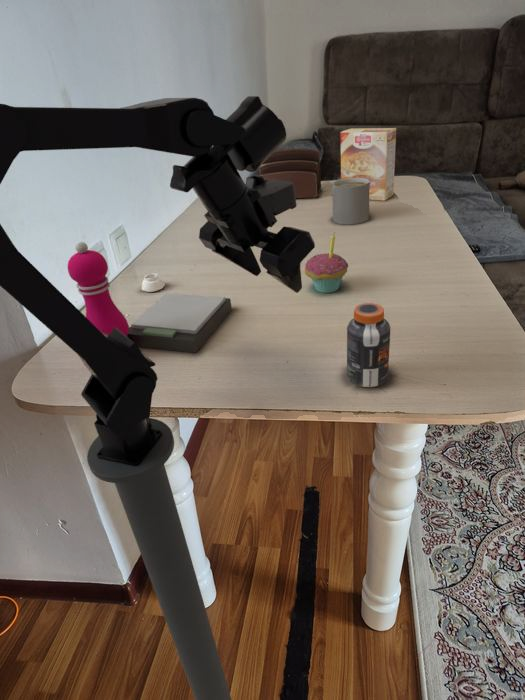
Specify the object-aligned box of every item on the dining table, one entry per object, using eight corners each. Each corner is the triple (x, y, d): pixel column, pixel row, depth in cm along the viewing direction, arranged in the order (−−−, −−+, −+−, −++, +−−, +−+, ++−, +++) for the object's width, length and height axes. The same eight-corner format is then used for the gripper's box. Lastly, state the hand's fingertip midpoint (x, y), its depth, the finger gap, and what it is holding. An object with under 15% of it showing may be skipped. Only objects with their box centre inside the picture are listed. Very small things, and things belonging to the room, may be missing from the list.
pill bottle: (384, 391, 68) (388, 320, 62) (343, 385, 70) (342, 317, 64) (390, 367, 73) (394, 300, 67) (351, 363, 75) (351, 297, 69)
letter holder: (265, 192, 169) (261, 150, 162) (321, 190, 164) (320, 146, 157) (258, 200, 161) (253, 156, 154) (317, 198, 156) (315, 152, 149)
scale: (195, 353, 82) (192, 336, 80) (126, 345, 86) (121, 329, 85) (232, 309, 94) (229, 294, 93) (169, 305, 99) (166, 290, 97)
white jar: (164, 291, 105) (164, 282, 110) (162, 278, 104) (162, 270, 108) (141, 294, 105) (142, 285, 109) (138, 282, 103) (139, 273, 107)
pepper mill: (84, 360, 83) (45, 249, 73) (110, 339, 89) (77, 233, 78) (118, 366, 80) (83, 251, 70) (142, 343, 86) (113, 235, 75)
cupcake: (354, 283, 99) (354, 225, 93) (337, 300, 93) (335, 240, 87) (317, 277, 103) (314, 222, 97) (298, 293, 98) (294, 236, 91)
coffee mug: (368, 223, 130) (369, 185, 125) (331, 225, 132) (330, 187, 127) (369, 209, 141) (370, 173, 136) (335, 210, 143) (334, 175, 138)
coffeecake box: (340, 198, 154) (339, 131, 144) (350, 192, 159) (350, 127, 149) (385, 201, 146) (387, 131, 136) (394, 194, 151) (397, 127, 141)
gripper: (319, 161, 55) (360, 258, 66) (226, 149, 68) (273, 232, 79) (255, 227, 53) (308, 316, 63) (171, 202, 66) (227, 280, 76)
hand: (277, 281), depth 71 cm, fingers open, 9 cm apart
